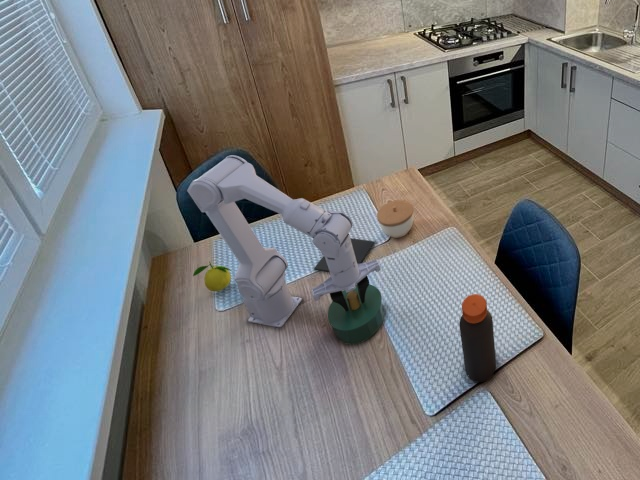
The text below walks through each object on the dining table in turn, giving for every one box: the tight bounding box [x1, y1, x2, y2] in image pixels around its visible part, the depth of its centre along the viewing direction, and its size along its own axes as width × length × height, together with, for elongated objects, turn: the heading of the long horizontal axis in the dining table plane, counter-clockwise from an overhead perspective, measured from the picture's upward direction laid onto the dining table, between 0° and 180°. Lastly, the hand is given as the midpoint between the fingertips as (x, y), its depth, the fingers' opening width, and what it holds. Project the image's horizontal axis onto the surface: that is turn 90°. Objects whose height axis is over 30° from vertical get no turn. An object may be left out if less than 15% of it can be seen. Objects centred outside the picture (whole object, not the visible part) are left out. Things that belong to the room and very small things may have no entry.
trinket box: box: [376, 199, 415, 239], centre depth 124 cm, size 11×11×9 cm
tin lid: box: [327, 283, 383, 331], centre depth 95 cm, size 12×12×5 cm
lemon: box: [192, 261, 232, 292], centre depth 106 cm, size 7×6×10 cm
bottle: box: [458, 293, 497, 383], centre depth 84 cm, size 7×7×20 cm
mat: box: [313, 237, 376, 273], centre depth 117 cm, size 12×12×1 cm
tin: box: [333, 303, 384, 345], centre depth 97 cm, size 11×11×5 cm
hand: (354, 303), depth 96 cm, fingers open, 3 cm apart
